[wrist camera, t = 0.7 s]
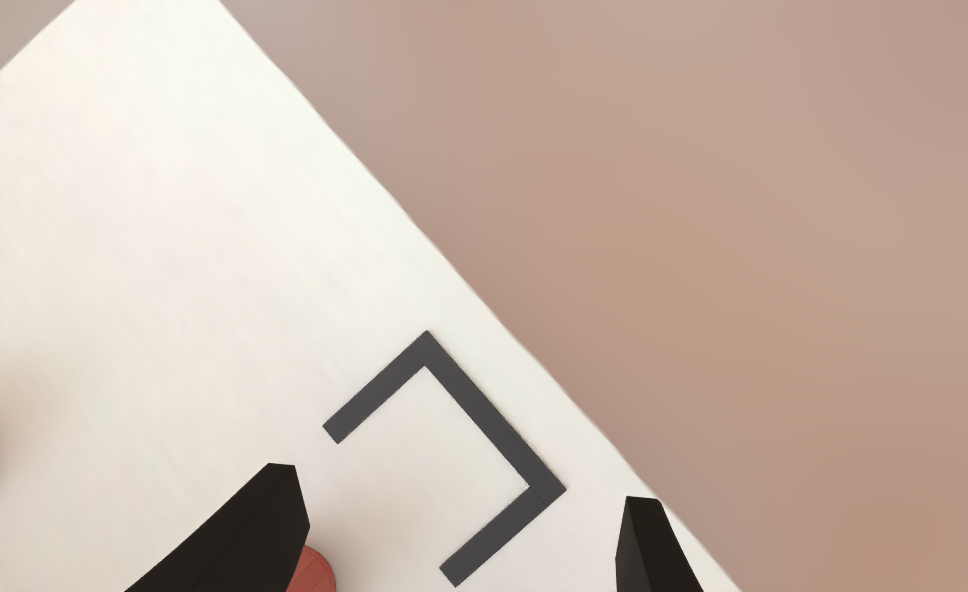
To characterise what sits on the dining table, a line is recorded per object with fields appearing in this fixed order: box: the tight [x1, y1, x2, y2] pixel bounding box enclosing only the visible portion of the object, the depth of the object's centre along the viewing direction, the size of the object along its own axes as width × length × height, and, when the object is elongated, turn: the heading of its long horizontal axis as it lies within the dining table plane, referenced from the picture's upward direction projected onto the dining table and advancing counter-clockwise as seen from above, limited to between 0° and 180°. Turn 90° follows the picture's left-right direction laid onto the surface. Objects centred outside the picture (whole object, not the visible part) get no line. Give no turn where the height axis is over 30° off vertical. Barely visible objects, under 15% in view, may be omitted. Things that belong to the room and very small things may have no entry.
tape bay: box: [323, 330, 566, 588], centre depth 35 cm, size 10×14×1 cm
